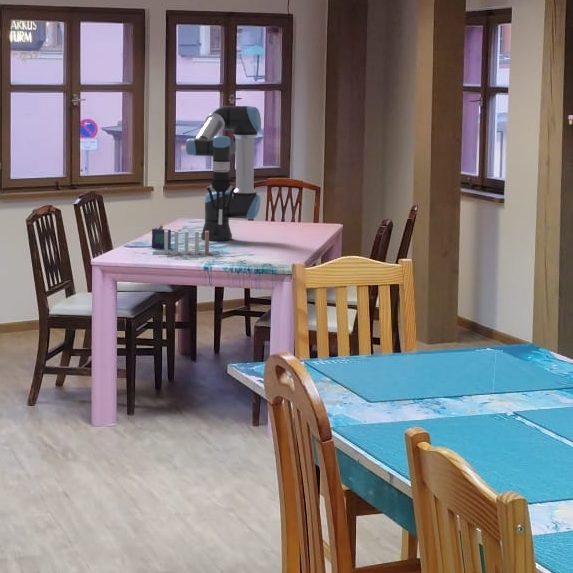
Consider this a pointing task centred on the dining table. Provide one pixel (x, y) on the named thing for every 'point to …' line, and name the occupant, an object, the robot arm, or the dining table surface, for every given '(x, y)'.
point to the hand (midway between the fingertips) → (220, 224)
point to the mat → (188, 253)
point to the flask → (160, 238)
